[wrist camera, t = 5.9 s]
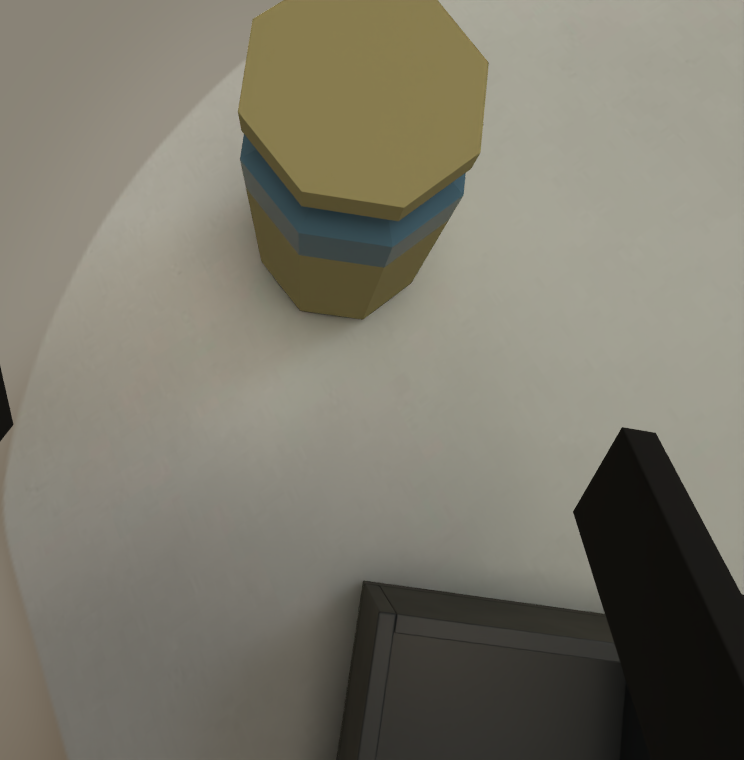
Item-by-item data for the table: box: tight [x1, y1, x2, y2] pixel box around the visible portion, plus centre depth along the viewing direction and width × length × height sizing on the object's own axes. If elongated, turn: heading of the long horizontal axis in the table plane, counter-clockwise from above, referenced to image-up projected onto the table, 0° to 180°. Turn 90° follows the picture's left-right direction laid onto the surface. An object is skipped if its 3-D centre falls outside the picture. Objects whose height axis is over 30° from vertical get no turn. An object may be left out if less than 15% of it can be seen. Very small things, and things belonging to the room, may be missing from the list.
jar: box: [238, 0, 489, 319], centre depth 27 cm, size 9×9×15 cm
